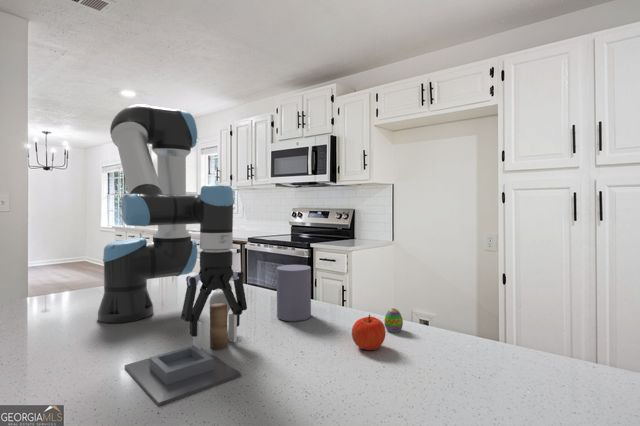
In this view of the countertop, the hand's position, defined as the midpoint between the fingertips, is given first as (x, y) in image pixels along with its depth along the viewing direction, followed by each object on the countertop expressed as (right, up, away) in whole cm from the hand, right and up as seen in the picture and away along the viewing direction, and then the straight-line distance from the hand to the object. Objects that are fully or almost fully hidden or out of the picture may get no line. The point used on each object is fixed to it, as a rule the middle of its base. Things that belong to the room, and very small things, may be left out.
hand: (215, 344), depth 89 cm
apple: (+37, -1, 0) cm, 37 cm away
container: (+17, 0, +24) cm, 30 cm away
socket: (-3, -1, -13) cm, 13 cm away
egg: (+45, -1, +12) cm, 46 cm away
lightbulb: (-2, -1, +12) cm, 12 cm away
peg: (+1, -1, +1) cm, 1 cm away
